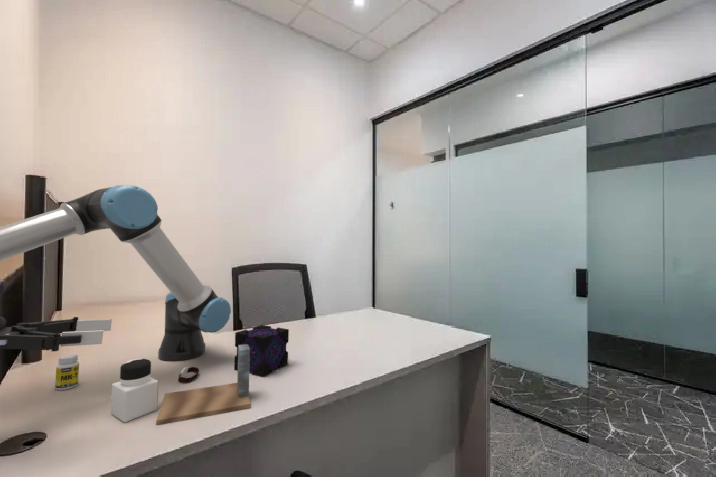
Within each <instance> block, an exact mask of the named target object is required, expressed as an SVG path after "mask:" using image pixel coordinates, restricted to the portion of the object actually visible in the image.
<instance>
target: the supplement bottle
mask: <svg viewBox="0 0 716 477" xmlns="http://www.w3.org/2000/svg"><path fill="white" fill-rule="evenodd" d="M78 359H79V355H78V354H76V353H70V354H65V355H61V356H59V357H58V361H57V362H58V363H57V365H56V367H55V383H54V384H55V386H54V388H55V390H57V391H64V390H66V391H67V390H69V389H73V388H75V387H77V386H78V385H79V376H80V373H79V372H80V362H79V360H78Z"/></svg>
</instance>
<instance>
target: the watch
mask: <svg viewBox="0 0 716 477" xmlns="http://www.w3.org/2000/svg"><path fill="white" fill-rule="evenodd" d="M188 373H194V374H193V375H192V376H190V377H186V375H187V374H188ZM199 373H200V368H198V367H196V366H190V367H187V366H185V367H183V368H182V369H181V371H180V374H179V376H178V380H177V381H178V382H179V383H182V384H188V383H191V382H192V380H193V381H195V380H196V379H197V378H198V377H197V376H199ZM195 378H196V379H195ZM194 379H195V380H194ZM190 381H191V382H190ZM187 382H188V383H187Z"/></svg>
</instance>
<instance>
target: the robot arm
mask: <svg viewBox="0 0 716 477" xmlns="http://www.w3.org/2000/svg"><path fill="white" fill-rule="evenodd" d="M158 210H159V208H158V203H157V200H156V198H154V196H153V195H152V194H151V193H150V192H149V191H148V190H146V189H145V188H142V187H139V186H136V185H129V184H127V185H126V184H119V185H115V186H109V187H105V188H100V189H96V190H94V191H92V192H90V193H89V192H88V193H87V194H85V195H83V196H80V197H78V198H75V199H72V200H69V201H66V202H63V203H61V204H60V206H59V208H57V209H53V210H50V211H46V212H43V213H40V214H37V215H34V216H31V217H27V218H23V219H21V220H17V221H14V222H12V223H11V222H10V223H8V224H4V225H1V226H0V262H1V261H5V260H7V259H9V258H13V257H15V256H18V255H21V254H23V253H24V254H25V253H26V252H29V251H31V250H34V249H37V248H39V247H42V246H46V245H48V244H51V243H54V242H56V241H59V240H62V239H64V238H67V237H69V236H72V235H78V236H84V235H85V234H86V235H87V234H89V233H91V232H95V231H101V230H106V229H107V230H108V229H109V230H111V232H112V233H113V234H114V235H115V237H117V239H118V240H119V241H120V242H121V243H127V244H131V246H132V247H133V248H134V249H135V250H136V252H137V253H138V254H139V256H140V257H141V259H143V260H144V261H145V263H146V264H147V265H148V266H149V267H150V269H151V270H152V272H154V273H155V275H156V276H157V277H158V278H159V280H160V281H161V282H162V283H163V284H164V285H165V287H166V288H167V290H168V291H169V292H168V293H167V294H166V296H165V302H164V305H165V306H164V307H165V309H164V310H165V311H164V312H165V314H164V315H165V316H164V335H163V338H162V340H161V343H160V347H159V348H158V351H157V354H158V355H157V358H158V359H159V360H161V361H167V362H172V361H173V362H176V361H185V360H191V359H194V358H197V357H200V356H202V355H203V354H205V353H206V349H207V348H206V343H205V341H204V336H203V334H202V333H210V334H212V333H217V332H219V331H221V330H222V329H223V328H224V327H225V326H227V323H228V321H229V320H230V317H231V316H230V315H231V313H232V307H231V304H230V303H229V301H228V300H227V299H225V298H223V297H219V296H218V295H217V294H216V292H215V291H214V290H213V288H212V287H211V286H210V285H206V284H203V283H202V282H201V280H200V279H199V278H198V277H197V275H196V274H195V273H194V271H193V270H192V268H191V267H190V266H189V264H188V263H187V262H186V260H185V259H184V258H183V256H182V255H181V254H180V253H179V251H178V250H177V248H176V247H175V245H174V244H173V243H172V242H171V240H170V238H168V236H167V235H166V233H165V232H164V231H163V229H162V228H161V224H162V222H163V221H162V220H163V219H161V217H160V215H159V214H158ZM112 321H113V320H112V318H110V319H109V318H107V319H105V318H103V319H79V316H74V317H73V318H70V319H60V320H59V319H58V320H47V321H35V322H20V323H16V325H12V326H8V325H7V320H6V318H5V317H3V316H0V350H29V351H32V350H33V351H34V350H36V351H51V352H58V351H60V347H75V346H77V347H78V346H90V345H93V346H94V345H102V343H103V336H104V332H111V330H112V323H113V322H112Z"/></svg>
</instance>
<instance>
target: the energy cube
mask: <svg viewBox="0 0 716 477" xmlns="http://www.w3.org/2000/svg"><path fill="white" fill-rule="evenodd" d="M234 333H235V334H234V335H235V336H234V347H236V355H234V361H233V362H234V364H233V366H234V367H233V368H234V371H237V372H238V345H244V344H248V345H249V348H250V367H249V373H251V374H252V376H256V377H260V378H264V377H267V376H269V375H270V374H272V373H273V371H274V370H276V369H277V370H281V369H282V368H284V367H287V366H288V365H289V351H287V344H288V343H289V338H290V337H289V336H290V334H289V333H290V329H289V328H282V327H277V328H272V326H271V325H270V326H269V325H264V324H261V325H256V326H253V327H252V329H249V330H248V329H244V330H240V331H237V332H234Z"/></svg>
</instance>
